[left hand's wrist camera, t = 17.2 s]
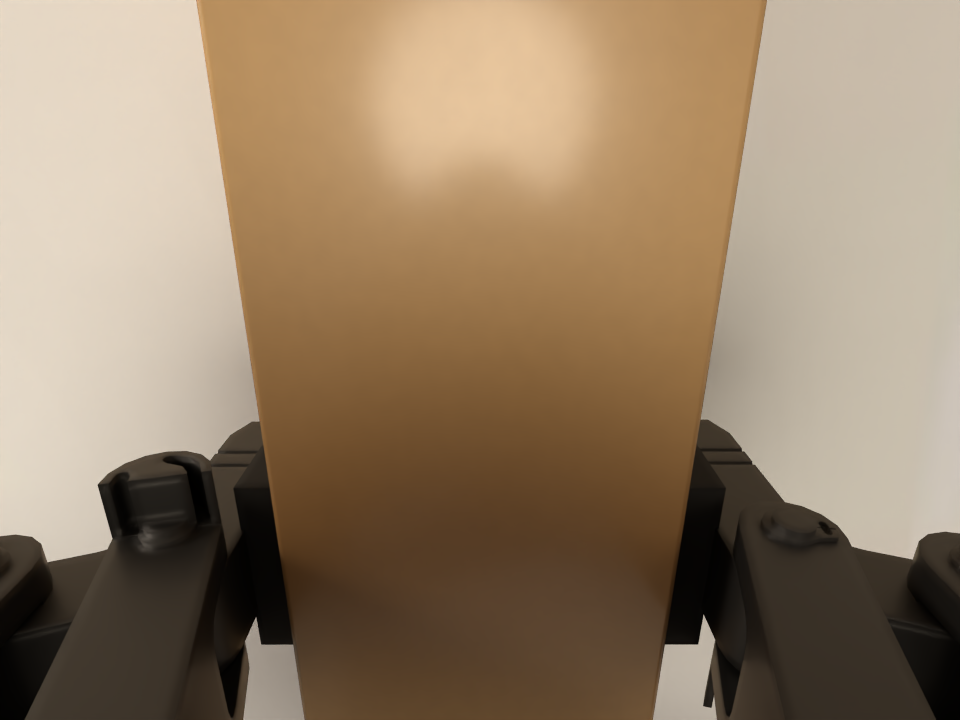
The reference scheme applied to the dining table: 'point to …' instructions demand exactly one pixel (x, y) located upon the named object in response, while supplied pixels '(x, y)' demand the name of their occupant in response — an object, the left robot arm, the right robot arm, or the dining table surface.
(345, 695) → the post
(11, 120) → the dining table surface
